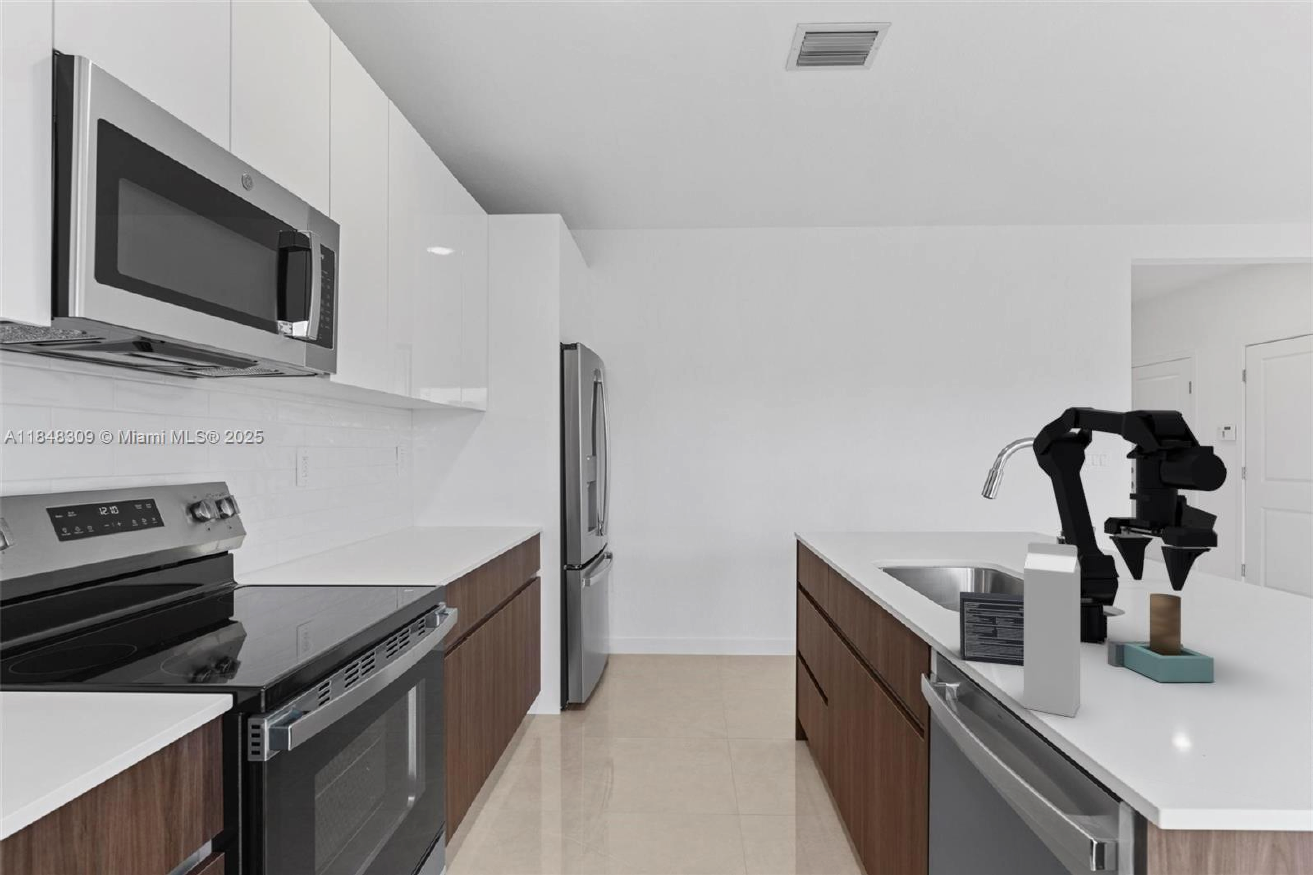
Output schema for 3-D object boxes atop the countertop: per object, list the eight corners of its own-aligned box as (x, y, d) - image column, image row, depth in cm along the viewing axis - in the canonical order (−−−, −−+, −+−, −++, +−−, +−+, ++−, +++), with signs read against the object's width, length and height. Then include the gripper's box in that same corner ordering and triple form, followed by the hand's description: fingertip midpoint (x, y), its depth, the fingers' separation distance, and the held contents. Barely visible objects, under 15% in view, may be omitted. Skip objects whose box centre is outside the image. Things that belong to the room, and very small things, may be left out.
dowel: (1151, 674, 116) (1151, 596, 116) (1148, 668, 120) (1148, 592, 120) (1182, 678, 114) (1182, 599, 115) (1178, 672, 118) (1178, 595, 118)
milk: (1032, 696, 106) (1031, 539, 106) (1081, 705, 102) (1080, 543, 103) (1023, 708, 101) (1022, 543, 101) (1074, 718, 97) (1073, 547, 98)
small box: (1027, 656, 126) (1027, 593, 127) (1032, 667, 120) (1032, 601, 120) (959, 650, 130) (959, 589, 130) (961, 660, 124) (961, 596, 124)
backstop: (1107, 663, 122) (1107, 641, 123) (1174, 663, 123) (1174, 641, 123) (1115, 666, 120) (1115, 644, 121) (1183, 666, 121) (1183, 644, 121)
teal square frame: (1124, 665, 121) (1124, 643, 121) (1174, 665, 121) (1174, 643, 121) (1159, 682, 112) (1159, 658, 112) (1213, 681, 113) (1213, 658, 113)
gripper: (1253, 491, 112) (1253, 596, 112) (1165, 485, 131) (1165, 575, 131) (1179, 491, 112) (1179, 596, 112) (1102, 484, 130) (1102, 575, 130)
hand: (1156, 585), depth 121 cm, fingers open, 9 cm apart
